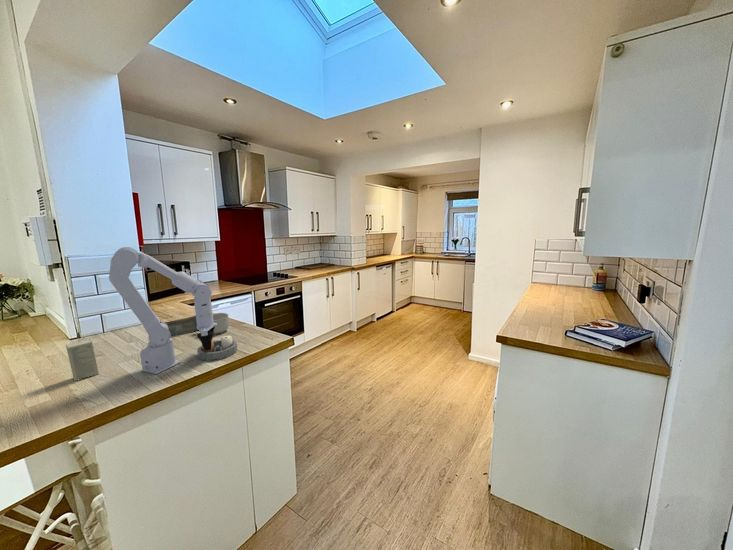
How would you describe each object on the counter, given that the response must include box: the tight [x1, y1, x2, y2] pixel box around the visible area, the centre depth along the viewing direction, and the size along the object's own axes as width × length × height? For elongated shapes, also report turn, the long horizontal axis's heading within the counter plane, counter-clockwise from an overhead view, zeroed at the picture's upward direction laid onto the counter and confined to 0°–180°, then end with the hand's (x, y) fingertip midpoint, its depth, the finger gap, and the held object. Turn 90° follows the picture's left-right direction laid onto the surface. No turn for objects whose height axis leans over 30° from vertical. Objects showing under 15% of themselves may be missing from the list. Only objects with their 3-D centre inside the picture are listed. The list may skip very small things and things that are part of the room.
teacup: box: [213, 312, 230, 335], centre depth 141 cm, size 14×11×8 cm
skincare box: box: [65, 338, 100, 381], centre depth 100 cm, size 6×4×12 cm
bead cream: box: [220, 335, 233, 350], centre depth 118 cm, size 4×4×5 cm
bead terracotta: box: [201, 338, 215, 352], centre depth 115 cm, size 4×4×5 cm
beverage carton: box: [163, 315, 198, 337], centre depth 142 cm, size 8×19×7 cm, turn 131°
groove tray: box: [196, 339, 238, 361], centre depth 117 cm, size 14×14×3 cm
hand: (208, 347), depth 115 cm, fingers open, 5 cm apart
